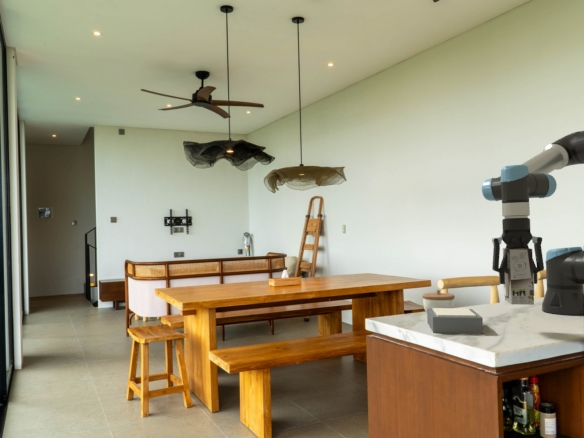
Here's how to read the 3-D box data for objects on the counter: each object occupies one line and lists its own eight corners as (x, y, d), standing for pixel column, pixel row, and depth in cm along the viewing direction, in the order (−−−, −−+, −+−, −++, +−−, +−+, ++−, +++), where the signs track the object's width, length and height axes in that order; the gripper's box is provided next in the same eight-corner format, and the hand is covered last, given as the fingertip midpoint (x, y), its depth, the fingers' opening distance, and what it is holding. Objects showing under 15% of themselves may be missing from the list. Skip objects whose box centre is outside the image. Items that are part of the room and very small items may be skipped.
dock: (472, 323, 159) (471, 307, 159) (482, 333, 143) (482, 316, 143) (427, 322, 161) (427, 307, 162) (433, 332, 146) (432, 315, 146)
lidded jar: (461, 318, 167) (460, 291, 167) (431, 320, 165) (431, 292, 165) (445, 313, 178) (444, 287, 178) (417, 315, 176) (417, 288, 176)
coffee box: (535, 304, 141) (533, 248, 141) (511, 304, 142) (509, 249, 142) (526, 300, 150) (524, 247, 150) (504, 300, 151) (502, 247, 151)
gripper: (546, 216, 148) (549, 293, 148) (479, 218, 152) (481, 293, 151) (555, 216, 141) (558, 296, 141) (484, 218, 144) (487, 297, 144)
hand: (518, 294), depth 146 cm, fingers closed on coffee box, 6 cm apart
